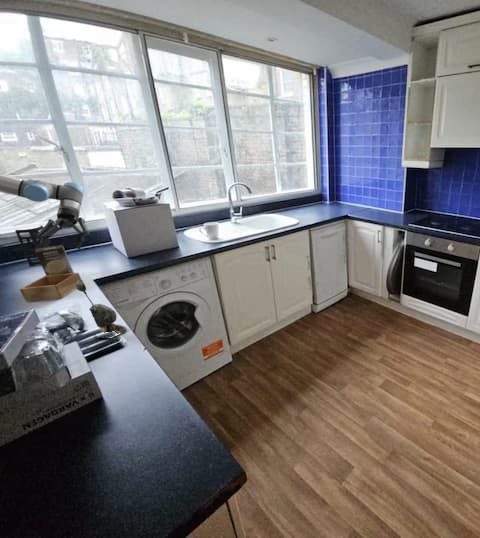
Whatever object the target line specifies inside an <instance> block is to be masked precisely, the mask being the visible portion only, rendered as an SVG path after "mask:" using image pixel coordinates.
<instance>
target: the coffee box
mask: <svg viewBox="0 0 480 538" xmlns="http://www.w3.org/2000/svg"><path fill="white" fill-rule="evenodd" d="M35 254H36V255H37V257H38V258H37V259H38V260H39V261H40V263H41V264H40V265H41V268H42V270H43V272H44V274H45V276H49V275H60V274H70V273H75V271H74V269H73V267H72V263H71V262H70V259H69V257H68V254H67V252H66V250H65V247H64V245H63V244H59V245H53V246H52V245H51V246H50V247H46V248H39V249H36V250H35Z"/></svg>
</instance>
